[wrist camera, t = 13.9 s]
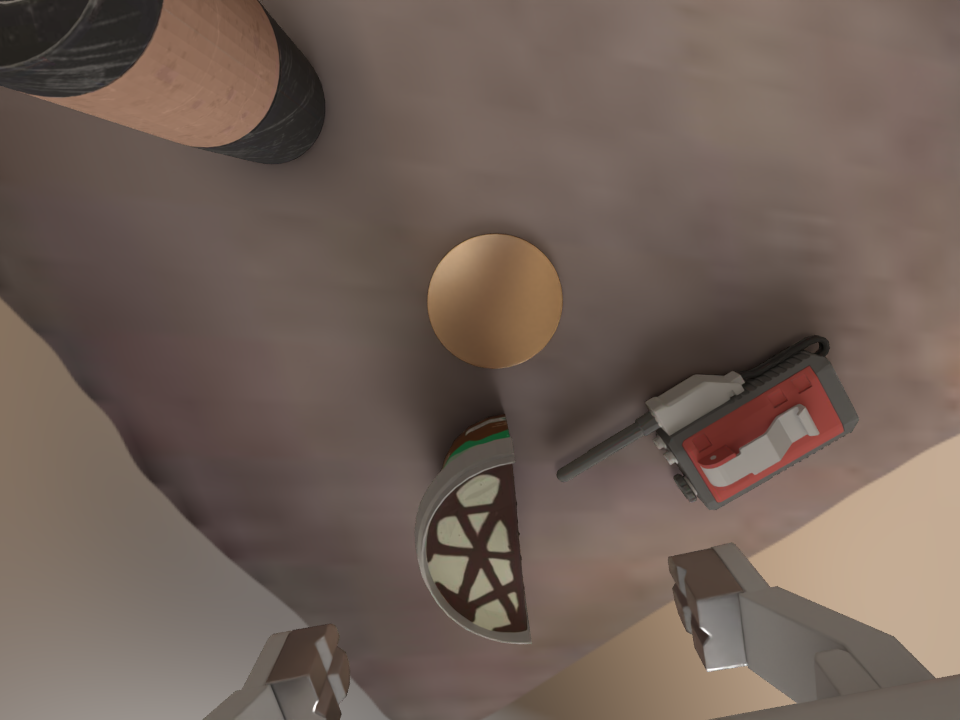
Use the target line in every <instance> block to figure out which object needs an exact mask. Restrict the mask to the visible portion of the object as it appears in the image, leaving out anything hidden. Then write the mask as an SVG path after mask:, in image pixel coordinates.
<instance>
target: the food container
mask: <svg viewBox="0 0 960 720" xmlns="http://www.w3.org/2000/svg"><path fill="white" fill-rule="evenodd" d="M512 463H515V457H514V450H513V444H512V437H510V435H509V430H508V426H507V421H506V417H505V414H503V415H497V416H492V417H488V418H486V419H484V420H482V421H480V422H477V423H475V424H473V425H471V426H469V427H468V428H467V429H466V430H465V431H464V432H463V433H462V434H461V435H460V436H459V437H458V438H456V439H455V440H454V442H453V444H452V446H451V448H450V450H449V451H448V453H447V455H446V457H445V460H444V463H443V467H442V470H441V472H440V473H439V474H438V475H437V476H436V477H435V479H434V480H433V481H432V483H431V484H430V486H429V487H428V489H427V491H426V493H425V495H424V496H423V498H422V500H421V503H420V506H419V509H418V513H417V516H416V524H415V547H416V552H417V557H418V562H419V566H420V570H421V574H422V577H423V579H424V581H425V584H426V586H427V588H428V590H429V591H430V593H431V594H432V596H433V597H434V599H435V601H436V602H437V604H438V605H439V606H440V608H441V609H442V610H443V611H444V612H445V613H446V614H447V615H448V616H449V617H450V618H451V619H452V620H454V621H455V622H456V623H457V624H459V625H460V626H461V627H463V628H465V629H467V630H468V631H470V632H472V633H474V634H476V635H479V636H481V637H484V638H486V639H490V640H494V641H498V642H502V643H512V644H532V641H531V634H530V627H529V620H528V613H527V606H526V599H525V591H524V584H523V575H522V566H521V560H522V558H521V554H520V544H519V535H520V533H519V532H518V520H517V509H516V506H517V502H516V497H515V493H516V492H515V487H514V476H513V466H512Z"/></svg>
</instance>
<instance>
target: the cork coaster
mask: <svg viewBox="0 0 960 720" xmlns="http://www.w3.org/2000/svg"><path fill="white" fill-rule="evenodd" d="M562 303H563V296H562V288H561V284H560V280H559V277H558V275H557V272H556V270H555V269H554V267H553V265H552V263H551V262H550V261H549V259H548V258H547V257H546V256H545V255H544V254H543V253H542V252H541V251H540V250H539V249H538V248H537V247H535V246H534V245H533V244H531V243H529V242H527V241H526V240H523V239H521V238H518V237H516V236H512V235H508V234H499V233H495V234H484V235H479V236H475V237H472V238H470V239H468V240H465V241H463V242H462V243H460V244H458V245H457V246H455V247H454V248H453V249H452V250H450V251H449V252H448V253H447V254H446V255H445V256H444V258H443V259H442V260H441V261H440V263H439V264H438V266H437V267H436V269H435V271H434V273H433V275H432V278H431V281H430V284H429V289H428V297H427V307H428V314H429V319H430V322H431V325H432V328H433V330H434V332H435V334H436V336H437V337H438V339H439V340H440V342H441V343H442V344H443V345H444V346H445V348H446V349H447V350H449V351H450V352H451V353H452V354H453V355H455V356H456V357H457V358H459V359H461V360H462V361H464V362H466V363H469V364H471V365H474V366H478V367H482V368H491V369H495V368H506V367H511V366H514V365H518V364H520V363H522V362H525V361H526V360H528V359H530V358H532V357H533V356H534V355H536V354H537V353H538V352H540V351H541V350H542V349H543V348H544V347H545V346H546V344H547V343H548V342H549V340H550V339H551V338H552V336H553V334H554V333H555V331H556V328H557V326H558V324H559V321H560V317H561V312H562Z"/></svg>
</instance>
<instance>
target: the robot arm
mask: <svg viewBox="0 0 960 720" xmlns="http://www.w3.org/2000/svg"><path fill="white" fill-rule="evenodd" d="M668 564H669V571H670V573H671V575H672V577H673V579H674V581H675V584H674V586H673V588H672V589H673V594H674V600H675V603H676V607H677V610H678V614H679V616H680V618H681V621H682V623H683V625H684V627H685V629H686V631H687V632H688V633H690V634H692V635H693V641H694V646H695V649H696V651H697V653H698V655H699V657H700V659H701V661H702V663H703V664H704V666H705V668H706V670H707V672H710V671H716V670H722V669H729V668H736V667H742V666H748V668H749V669H751V670H752V671H753V672H755V673H756V674H757V675H759V676H760V677H762V678H763V679H764V680H766V681H767V682H769V683H770V684H771V685H773V686H774V687H776V688H777V689H778V690H780V691H781V692H782V693H784V694H785V695H787V696H788V697H790V698H791V699H792V700H794V701H795V702H797V703H798V704H792V705H786V706H781V707H775V708H770V709H764V710H759V711H754V712H748V713H742V714H737V715H731V716H726V717H721V718H715V719H710V720H960V674H958V675H953V676H947V677H942V678H935V677H934V676H933V675H932V674H931V673H930V672H929V671H928V670H927V669H926V668H925V667H924V666H923V665H922V664H921V663H920V662H919V661H918V660H917V659H916V658H915V657H914V656H913V655H912V654H911V653H910V652H909V651H908V650H907V649H906V648H905V647H904V646H903V645H902V644H901V643H900V642H899V641H898V640H897V639H896V638H895V637H894V636H891V635H889V634H887V633H884V632H882V631H880V630H877V629H875V628H873V627H871V626H868V625H866V624H863V623H861V622H859V621H856V620H854V619H852V618H849V617H847V616H845V615H843V614H840V613H838V612H835V611H833V610H831V609H829V608H826V607H824V606H822V605H819V604H817V603H815V602H812V601H810V600H807V599H805V598H803V597H801V596H798V595H796V594H794V593H791V592H789V591H787V590H784V589H782V588H780V587H778V586H776V587H770V586H769V585H768V584H767V582H766V581H765V580H764V579H763V578H762V576H761V575H760V574H759V573H758V571H757V570H756V569H755V568H754V567H753V565H752V564H751V563H750V562H749V560H748V559H747V558H746V557H745V555H744V554H743V553H742V552H741V551H740V549H739V548H738V547H737V546H736V544H734V543H728V544H723V545H719V546H714V547H711V548H709V549H704V550H699V551H694V552H689V553H684V554H679V555H674V556H670V557H668ZM339 638H340V635H339V633H338V630H337V628H336V626H335V625H333V624H325V625H319V626H314V627H308V628H303V629H296V630H293V631H287V632H281V633H276V634H273V635H272V636H270V637H269V639H268V640H267V642H266V644H265V646H264V648H263V650H262V652H261V654H260V656H259V657H258V660H257V661H256V663H255V665H254V667H253V669H252V671H251V673H250V675H249V677H248V679H247V681H246V683H245V685H244V687H243V688H242V690H238V691H235V692H234V693H233V694H232V695H231V696H229V697H228V698H227V699H226V700H225V701H224V702H222V703H221V704H220V705H219V706H218V707H217V708H216V709H214V710H213V711H212V712H211V713H210V714H209V715H207V716H206V717H205V718H204V719H203V720H340V717H341V711H340V708H339V704H340V703H341V701H343V699H344V698H345V697H346V696H347V693H348V689H349V685H350V667H349V661H348V658H347V655H346V652H345V651H344V650H342V649H341V648H339V647H338V646H337V644H338V641H339Z"/></svg>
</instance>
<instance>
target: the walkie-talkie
mask: <svg viewBox="0 0 960 720" xmlns="http://www.w3.org/2000/svg"><path fill="white" fill-rule="evenodd" d="M817 342H818V343H819V349H818V350H817V351H816V352H815V353H811V352H808V351H806V350H803V349H805V348H806V347H808V346H810V345H811V344H813V343H817ZM829 349H830V347H829V342H828V340H827V339H826V338H824V337H821V336H818V335H814V336H810V337H807V338H804V339H803V340H801V341H799V342H798V343H796V344H795V345H793V346H791V347H788V348H787V349H786V350H784V351H781V352H780V353H779V354H777V355H774V356H773V358H771V359H768V360H767V361H766V362H764V363H763V364H762V363H761V364H760V365H759V366H758V367H756V368H753V369H752V370H750V371H742V372H739V373H736V372H734V371H731V372H730V373H728V374H726V375H725V376H719V375H699V374H696V375H693V376H691V377H689V378H688V379H686V380H685V381H683V382H681V383H680V384H678V385H676V386H675V387H673V388H671V389H670V390H668V391H666V392H665V393H663V394H662V395H660V396H658V397H653V398H651V399H649V400H648V401H646V402H645V403H646V405H647V407H648V408H649V410H650V411H649V412H647V413H646V414H644V415H642V416H641V417H639V418H637V419H636V420H635V423H633V424H632V425H630V426H629V427H627V428H625V429H624V430H622V431H620V432H619V433H617V434H615V435H614V436H612V437H610V438H609V439H607V440H605V441H604V442H602V443H600V444H599V445H597V446H595V447H594V448H592V449H591V450H589V451H588V452H587V453H585V454H584V455H582V456H580V457H579V458H577V459H575V460H574V461H572V462H570V463H569V464H567V465H566V466H564V467H562V468H561V469H559V470H558V471H557V478H558V479H559V480H560V481H562V482H567V481H569V480H570V479H572V478H574V477H575V476H577V475H579V474H580V473H582V472H584V471H585V470H587V469H589V468H590V467H592V466H594V465H595V464H597V463H599V462H600V461H602V460H604V459H605V458H607V457H608V456H610V455H612V454H613V453H615V452H617V451H618V450H620V449H622V448H623V447H625V446H627V445H628V444H630V443H632V442H633V441H635V440H637V439H638V438H640V437H642V436H643V435H644V436H647V435H648V434H650V433H652V432H653V431H655V430H657V431H656V432H657V433H658V434H656V436H657V437H656V438H654V439H653V442H654V444H655V445H656V446H657V448H658V449H659V450H660V449H661V448H663V447H665V449H666V448H667V451H668V452H666V453H664V454H663V455H664V457H665V458H666V460H667V461H668V463H669V464H670V465H671V464H672V463H674V462H676V464H677V465H678V467H679V469H680V470H681V472H682V474H683V475H684V476H682V475H680V474H677V475H675V476H674V480H675V482H676V484H677V485H678V487H679V488H680V490H681V491H682V492H683V494H684V496H685V497H686V498H687V499H688V501H689V502H694V501H696V498H697V497H696V495H697V496H698V497H699V499H700V500H701V501H702V502H703V503H704V504H705V506H706V507H707V508H708V509H709V510H717V509H719V508H720V507H722V506H724V505H726V504H727V503H729V502H731V501H733V500H734V499H736V498H738V497H740V496H741V495H743V494H745V493H747V492H748V491H750V490H752V489H754V488H755V487H757V486H759V485H761V484H762V483H764V482H766V481H768V480H769V479H771V478H773V476H775V475H776V474H777V475H778V474H780V472H782V471H783V470H787V468H789V467H790V466H794V464H795V463H797V462H801V460H803V459H804V458H808V457H809V455H811V454H815V453H816V451H818V450H820V449H821V450H822V449H823V447H825V446H827V445H828V446H829V445H830V444H831V443H832V442H834V441H837V440H838V439H839V438H841V437H844V436H845V435H846V434H848V433H851V432H852V431H853V429H854V427H855V426H856V424H857V423H858V421H859V417H858V415H857V413H856V411H855V409H854V407H853V405H852V403H851V401H850V399H849V397H848V395H847V394H846V392H845V390H844V388H843V386H842V384H841V382H840V380H839V378H838V376H837V374H836V372H835V370H834V368H833V367H832V365H831V363H830V362H829V361H828V360H827V359H826V358H825V356H826V355H827V354H828V352H829Z"/></svg>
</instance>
